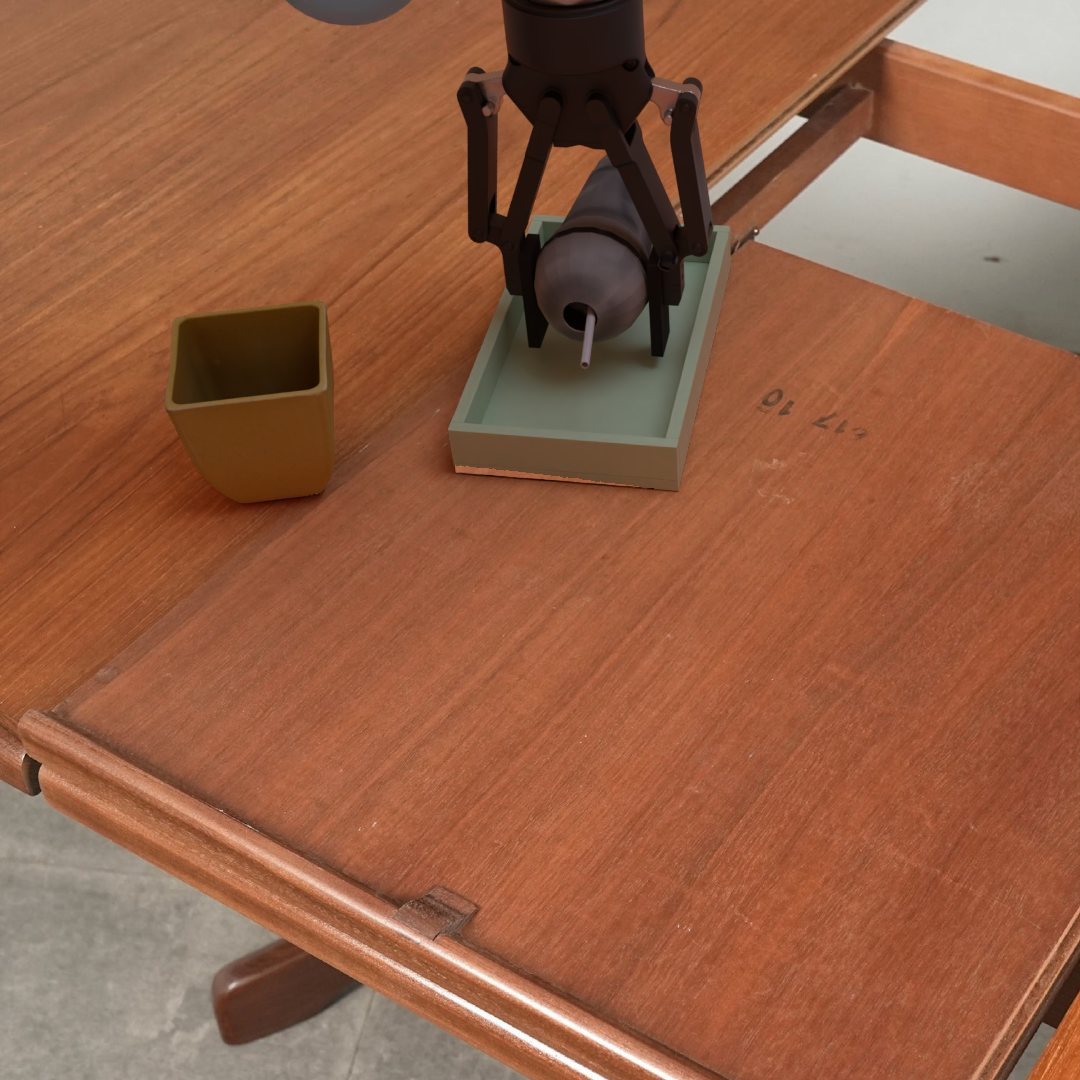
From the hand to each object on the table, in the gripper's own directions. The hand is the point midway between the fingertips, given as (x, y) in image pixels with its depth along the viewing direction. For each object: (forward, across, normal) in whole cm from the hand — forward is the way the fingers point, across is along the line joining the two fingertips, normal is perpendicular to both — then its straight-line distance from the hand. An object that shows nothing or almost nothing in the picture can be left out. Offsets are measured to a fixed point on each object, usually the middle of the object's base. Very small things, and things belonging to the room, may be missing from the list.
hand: (599, 339), depth 98 cm
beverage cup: (-5, 0, -11) cm, 12 cm away
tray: (+2, 0, 0) cm, 2 cm away
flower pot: (+2, +17, +13) cm, 22 cm away
